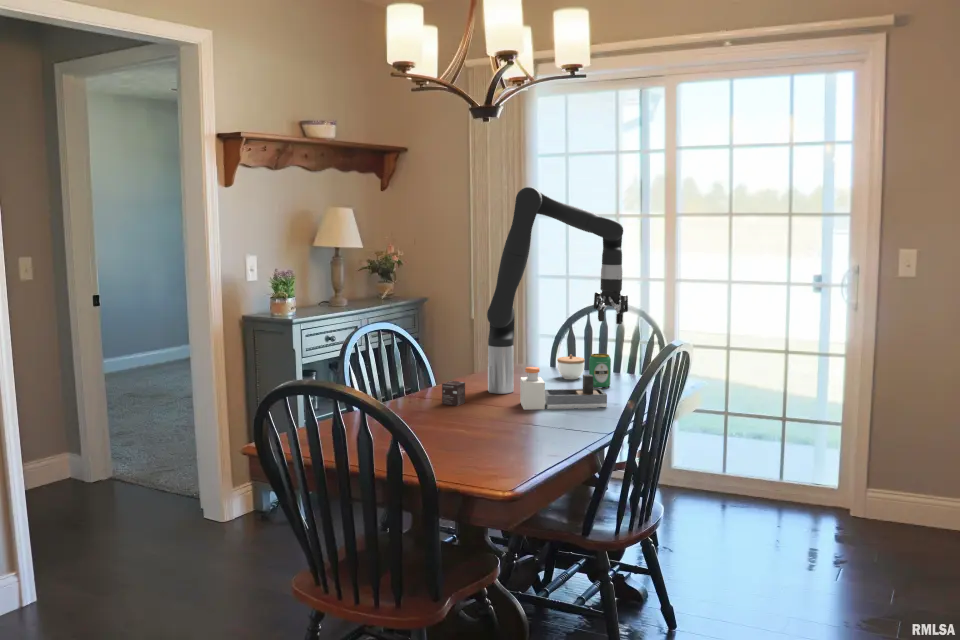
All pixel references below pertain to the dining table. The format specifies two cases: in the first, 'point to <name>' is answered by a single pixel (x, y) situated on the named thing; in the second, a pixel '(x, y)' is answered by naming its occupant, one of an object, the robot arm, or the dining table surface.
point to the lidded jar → (571, 367)
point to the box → (453, 393)
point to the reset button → (532, 373)
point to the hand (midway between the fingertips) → (610, 322)
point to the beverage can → (600, 369)
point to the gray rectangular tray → (574, 399)
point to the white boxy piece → (532, 393)
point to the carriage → (587, 386)
